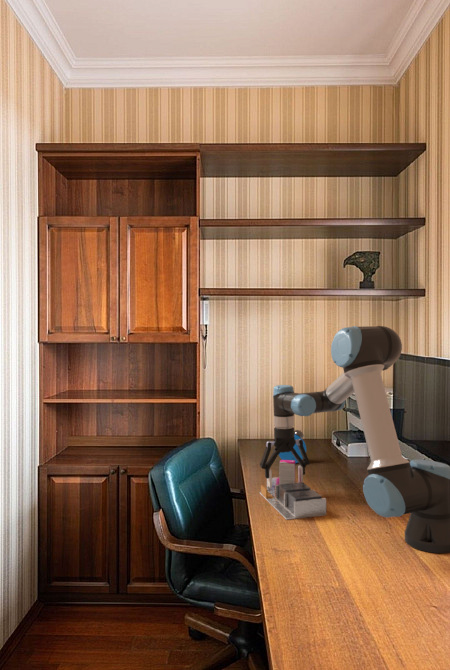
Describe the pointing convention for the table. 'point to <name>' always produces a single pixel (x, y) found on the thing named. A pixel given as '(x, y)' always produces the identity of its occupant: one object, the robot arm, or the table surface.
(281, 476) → the supplement box
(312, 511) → the rack
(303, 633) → the table surface
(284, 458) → the alarm clock
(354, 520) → the table surface
